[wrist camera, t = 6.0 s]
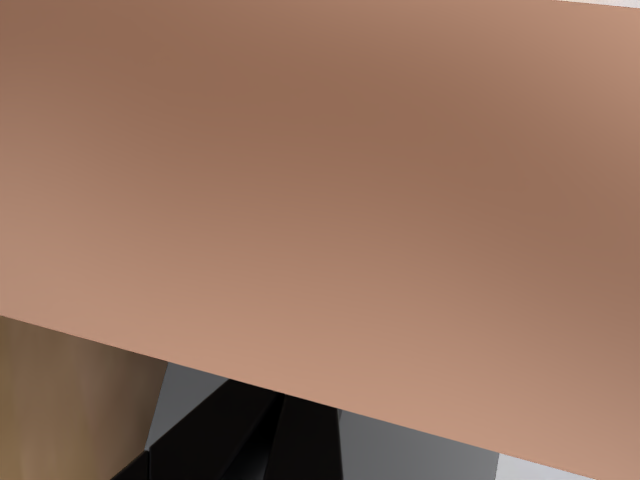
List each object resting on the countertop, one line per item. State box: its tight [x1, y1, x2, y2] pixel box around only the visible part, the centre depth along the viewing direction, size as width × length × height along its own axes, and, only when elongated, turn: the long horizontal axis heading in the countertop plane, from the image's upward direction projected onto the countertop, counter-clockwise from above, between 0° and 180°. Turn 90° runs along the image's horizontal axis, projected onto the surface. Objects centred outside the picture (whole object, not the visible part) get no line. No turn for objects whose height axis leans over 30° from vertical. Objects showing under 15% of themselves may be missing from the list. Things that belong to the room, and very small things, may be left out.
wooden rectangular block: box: [0, 0, 640, 480], centre depth 9 cm, size 3×6×10 cm, turn 77°
